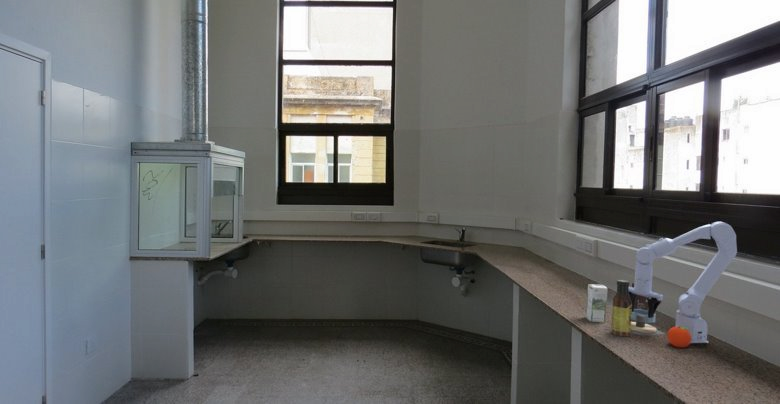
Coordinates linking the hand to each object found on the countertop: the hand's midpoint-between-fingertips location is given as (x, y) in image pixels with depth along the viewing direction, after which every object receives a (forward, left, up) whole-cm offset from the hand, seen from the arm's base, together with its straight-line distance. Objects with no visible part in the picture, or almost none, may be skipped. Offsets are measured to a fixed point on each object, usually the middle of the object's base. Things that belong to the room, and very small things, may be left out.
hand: (640, 314), depth 169 cm
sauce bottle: (-5, +12, -6) cm, 14 cm away
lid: (0, 0, -6) cm, 6 cm away
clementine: (-18, -1, -6) cm, 19 cm away
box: (+24, -19, -6) cm, 32 cm away
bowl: (+11, -10, -6) cm, 16 cm away
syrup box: (+11, +11, -6) cm, 17 cm away
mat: (0, 0, -6) cm, 6 cm away
